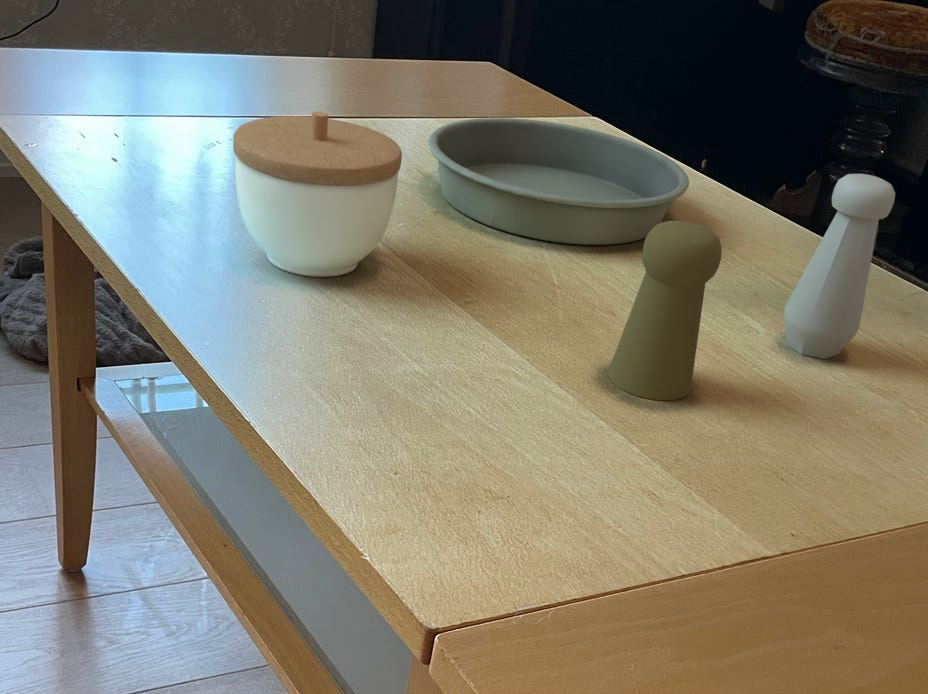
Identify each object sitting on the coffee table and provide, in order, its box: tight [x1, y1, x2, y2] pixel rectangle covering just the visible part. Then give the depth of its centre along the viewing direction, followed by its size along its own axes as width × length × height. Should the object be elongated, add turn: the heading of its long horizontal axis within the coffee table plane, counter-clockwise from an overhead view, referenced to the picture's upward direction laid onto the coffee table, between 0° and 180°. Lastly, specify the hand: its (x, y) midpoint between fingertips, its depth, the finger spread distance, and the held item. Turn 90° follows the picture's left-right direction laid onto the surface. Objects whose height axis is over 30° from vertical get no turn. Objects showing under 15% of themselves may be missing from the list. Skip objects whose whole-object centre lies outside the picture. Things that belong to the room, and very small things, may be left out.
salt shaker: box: [783, 173, 896, 360], centre depth 87 cm, size 6×6×13 cm
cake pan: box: [427, 117, 690, 246], centre depth 109 cm, size 25×25×4 cm
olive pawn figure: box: [607, 220, 722, 401], centre depth 79 cm, size 6×6×11 cm
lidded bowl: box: [232, 111, 403, 278], centre depth 89 cm, size 13×13×11 cm
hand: (855, 17), depth 85 cm, fingers open, 13 cm apart
